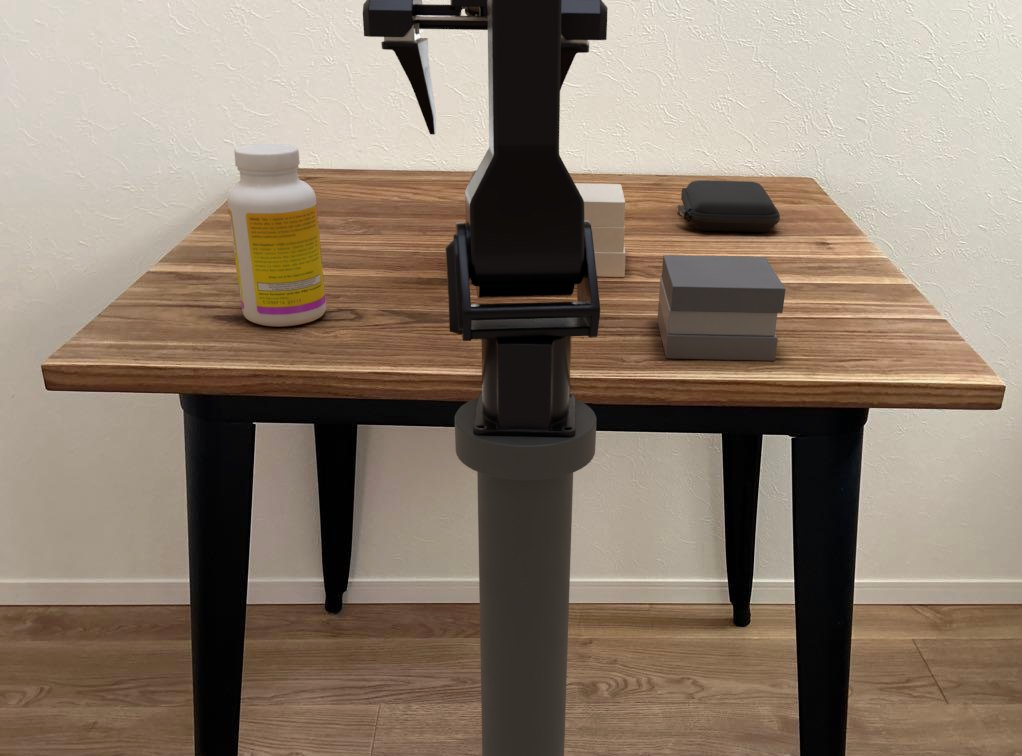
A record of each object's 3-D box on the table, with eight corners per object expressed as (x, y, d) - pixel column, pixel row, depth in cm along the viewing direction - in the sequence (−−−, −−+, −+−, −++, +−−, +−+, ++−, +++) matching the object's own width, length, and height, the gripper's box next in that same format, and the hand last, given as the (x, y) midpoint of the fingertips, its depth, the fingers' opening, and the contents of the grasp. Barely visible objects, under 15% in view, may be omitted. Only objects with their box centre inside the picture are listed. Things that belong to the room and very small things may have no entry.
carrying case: (670, 203, 123) (678, 234, 110) (672, 176, 122) (680, 204, 109) (762, 205, 123) (780, 236, 110) (765, 178, 121) (784, 206, 108)
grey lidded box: (776, 361, 77) (785, 288, 75) (666, 358, 77) (671, 286, 75) (757, 324, 85) (765, 256, 82) (657, 322, 85) (661, 254, 82)
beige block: (624, 277, 96) (627, 228, 94) (558, 275, 96) (559, 226, 94) (620, 252, 104) (622, 206, 101) (559, 251, 104) (560, 205, 101)
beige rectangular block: (624, 227, 94) (625, 202, 93) (562, 226, 94) (563, 201, 93) (619, 207, 101) (621, 183, 100) (562, 206, 101) (563, 182, 100)
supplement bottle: (343, 316, 85) (330, 148, 79) (274, 335, 81) (254, 159, 74) (294, 298, 89) (277, 137, 83) (226, 315, 85) (202, 147, 78)
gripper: (608, -81, 86) (601, 123, 93) (380, -84, 86) (391, 120, 94) (611, -86, 76) (602, 142, 84) (354, -89, 77) (369, 138, 84)
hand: (488, 134), depth 87 cm, fingers open, 9 cm apart
